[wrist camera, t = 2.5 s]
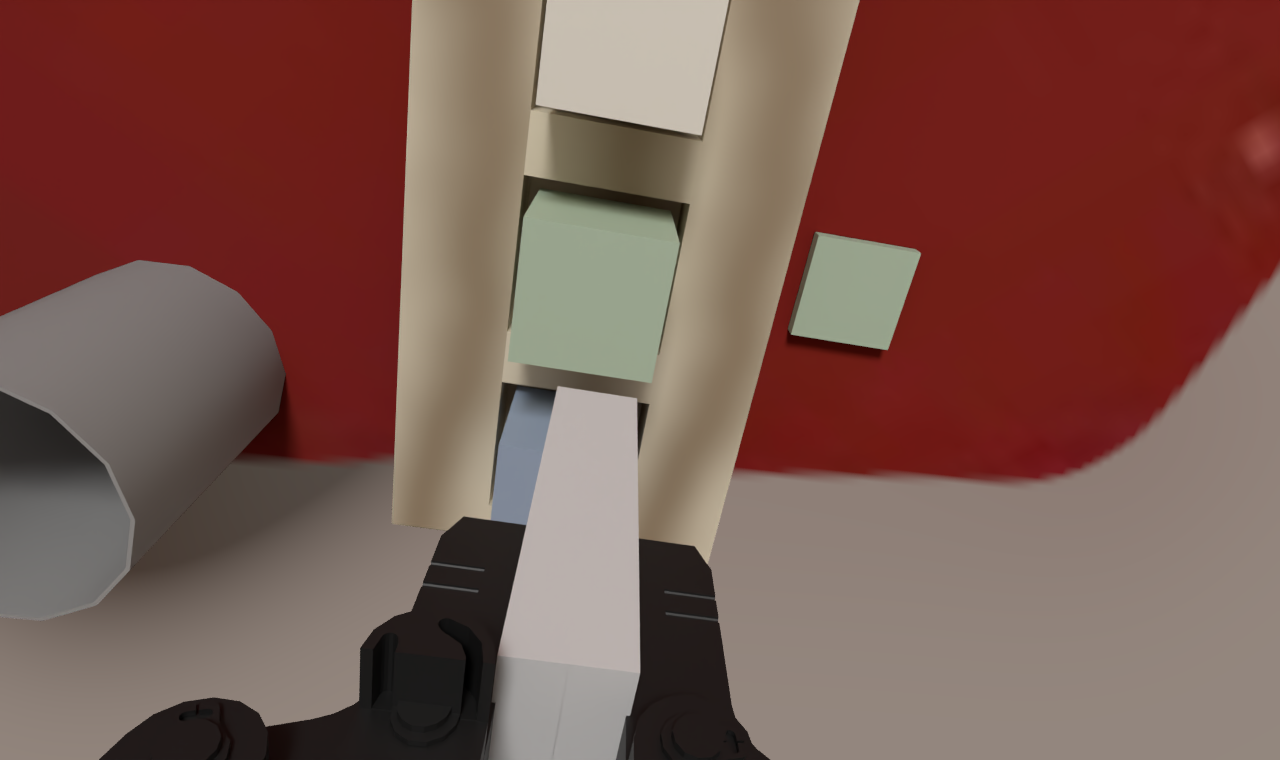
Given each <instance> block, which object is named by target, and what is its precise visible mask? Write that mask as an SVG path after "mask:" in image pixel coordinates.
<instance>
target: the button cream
mask: <svg viewBox="0 0 1280 760" xmlns="http://www.w3.org/2000/svg"><path fill="white" fill-rule="evenodd" d="M728 2H729V0H547V4H546V14H545V23H544V32H543V41H542V50H541V60H540V69H539V78H538V87H537V97H536V105H539V106H544V107H550V108H555V109H561V110H566V111H571V112H577V113H582V114H588V115H593V116H599V117H604V118H609V119H615V120H620V121H626V122H631V123H636V124H642V125H647V126H653V127H658V128H664V129H669V130H674V131H680V132H685V133H691V134H696V135H702V131H703V126H704V121H705V116H706V111H707V106H708V102H709V97H710V92H711V87H712V82H713V77H714V72H715V67H716V62H717V57H718V52H719V47H720V42H721V37H722V32H723V27H724V22H725V17H726V12H727V7H728Z"/></svg>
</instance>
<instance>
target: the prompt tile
mask: <svg viewBox="0 0 1280 760" xmlns="http://www.w3.org/2000/svg"><path fill="white" fill-rule="evenodd" d="M920 255H921V253H920V252H919V251H917V250H916V249H911V248H906V247H900V246H894V245H888V244H883V243H877V242H871V241H866V240H860V239H854V238H848V237H843V236H837V235H831V234H825V233H820V232H815V234H814V237H813V241H812V244H811V248H810V251H809V255H808V259H807V262H806V266H805V269H804V273H803V277H802V280H801V284H800V287H799V291H798V294H797V298H796V302H795V305H794V309H793V312H792V316H791V319H790V323H789V327H788V330H789V332H790V334H791V335H797V336H803V337H809V338H815V339H822V340H828V341H834V342H840V343H847V344H853V345H859V346H865V347H871V348H878V349H884V350H888V348H889V345H890V342H891V339H892V336H893V333H894V330H895V327H896V324H897V322H898V319H899V316H900V313H901V310H902V307H903V304H904V301H905V298H906V296H907V293H908V290H909V287H910V284H911V281H912V278H913V275H914V272H915V269H916V267H917V264H918V261H919V258H920Z"/></svg>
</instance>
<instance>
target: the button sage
mask: <svg viewBox="0 0 1280 760" xmlns="http://www.w3.org/2000/svg"><path fill="white" fill-rule="evenodd" d="M679 245H680V242H679V239H678V235H677V231H676V228H675V224H674V221H673V217H672V213H671V211H669V210H663V209H658V208H652V207H646V206H640V205H635V204H629V203H623V202H617V201H612V200H606V199H600V198H594V197H589V196H583V195H577V194H571V193H566V192H560V191H554V190H548V189H543V188H540V190H539V191H538V193H537V195H536V196H535V198H534V200H533V201H532V203H531V205H530V207H529V208H528V210H527V212H526V213H525V215H524V217H523V226H522V235H521V244H520V253H519V262H518V272H517V281H516V290H515V299H514V309H513V318H512V327H511V336H510V345H509V355H508V361H509V362H515V363H522V364H529V365H535V366H542V367H548V368H555V369H562V370H568V371H575V372H581V373H588V374H595V375H601V376H608V377H614V378H621V379H628V380H634V381H641V382H647V383H652V379H653V374H654V369H655V364H656V359H657V354H658V349H659V344H660V339H661V334H662V329H663V324H664V319H665V314H666V309H667V305H668V300H669V295H670V290H671V285H672V280H673V275H674V270H675V265H676V260H677V255H678V250H679Z"/></svg>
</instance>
